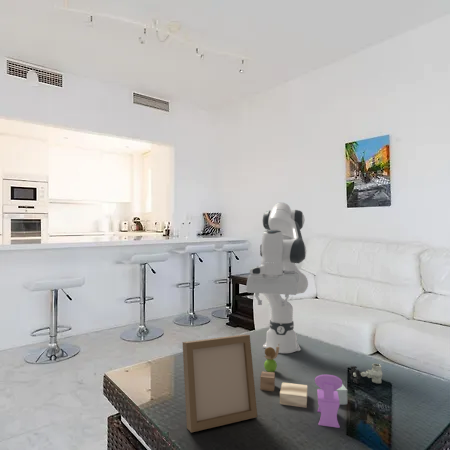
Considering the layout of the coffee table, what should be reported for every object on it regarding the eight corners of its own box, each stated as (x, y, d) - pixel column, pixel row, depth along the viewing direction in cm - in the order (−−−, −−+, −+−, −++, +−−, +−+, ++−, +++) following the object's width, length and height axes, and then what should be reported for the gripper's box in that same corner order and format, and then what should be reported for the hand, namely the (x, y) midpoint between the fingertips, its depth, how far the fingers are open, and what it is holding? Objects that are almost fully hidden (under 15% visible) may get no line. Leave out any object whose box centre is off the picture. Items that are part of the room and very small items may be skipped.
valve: (376, 377, 140) (349, 379, 138) (376, 361, 140) (349, 363, 138) (386, 385, 134) (358, 386, 132) (386, 368, 134) (358, 369, 132)
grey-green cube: (328, 397, 123) (328, 383, 123) (342, 397, 123) (342, 383, 123) (333, 404, 118) (333, 390, 118) (347, 404, 118) (347, 389, 118)
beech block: (282, 393, 127) (282, 382, 127) (307, 396, 124) (307, 385, 124) (279, 405, 118) (279, 393, 118) (306, 408, 116) (306, 396, 116)
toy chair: (340, 413, 112) (340, 367, 113) (343, 428, 104) (343, 378, 104) (314, 410, 114) (314, 364, 114) (314, 424, 106) (315, 375, 106)
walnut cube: (262, 384, 133) (262, 371, 133) (274, 385, 132) (275, 372, 132) (260, 390, 128) (260, 376, 128) (273, 391, 127) (273, 378, 127)
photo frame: (257, 420, 108) (258, 340, 108) (191, 436, 99) (192, 348, 100) (237, 398, 121) (237, 327, 122) (177, 411, 113) (178, 334, 113)
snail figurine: (279, 375, 142) (279, 346, 142) (263, 373, 143) (263, 344, 143) (279, 370, 147) (279, 342, 147) (264, 368, 148) (264, 340, 148)
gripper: (298, 270, 137) (298, 305, 136) (248, 269, 142) (247, 303, 141) (298, 271, 131) (298, 307, 130) (245, 269, 136) (245, 305, 134)
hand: (271, 305), depth 135 cm, fingers open, 8 cm apart
